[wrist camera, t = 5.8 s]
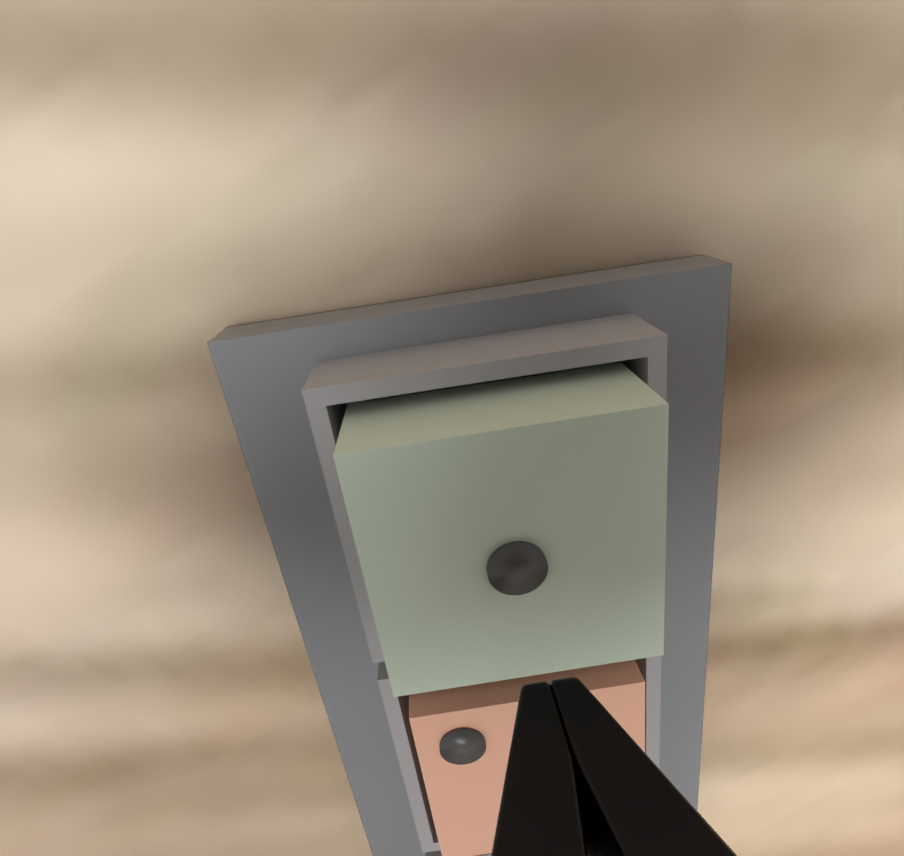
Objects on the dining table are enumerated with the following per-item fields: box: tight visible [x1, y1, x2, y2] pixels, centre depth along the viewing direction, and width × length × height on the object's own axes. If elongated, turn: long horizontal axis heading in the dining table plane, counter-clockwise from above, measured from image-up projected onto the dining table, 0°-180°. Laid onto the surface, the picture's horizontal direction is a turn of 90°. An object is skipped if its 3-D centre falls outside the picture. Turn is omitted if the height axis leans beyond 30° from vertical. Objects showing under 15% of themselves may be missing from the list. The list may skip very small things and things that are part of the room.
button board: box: [208, 255, 732, 856], centre depth 18 cm, size 25×12×4 cm, turn 8°
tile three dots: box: [409, 660, 645, 856], centre depth 17 cm, size 6×6×3 cm
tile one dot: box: [333, 362, 669, 697], centre depth 12 cm, size 6×6×3 cm
